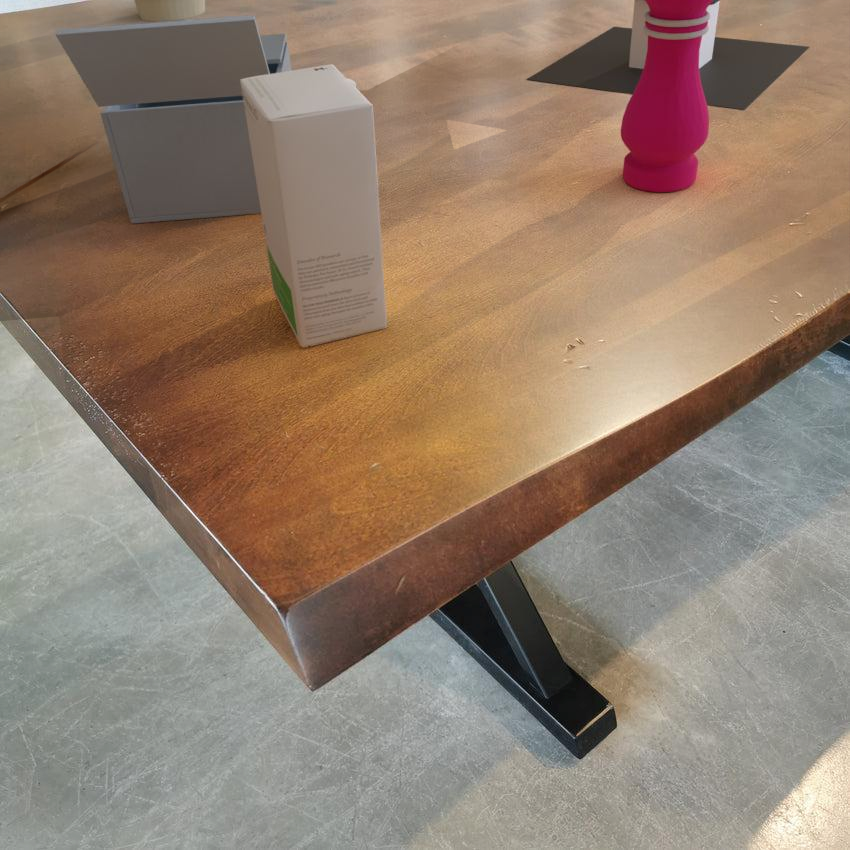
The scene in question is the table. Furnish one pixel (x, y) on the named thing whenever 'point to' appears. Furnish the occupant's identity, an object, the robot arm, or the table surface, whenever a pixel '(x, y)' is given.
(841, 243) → the table surface
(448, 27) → the table surface
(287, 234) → the cosmetic box
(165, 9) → the reusable coffee cup
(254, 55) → the flap
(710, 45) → the dark grey square mat
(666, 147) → the pepper mill
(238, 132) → the carton
